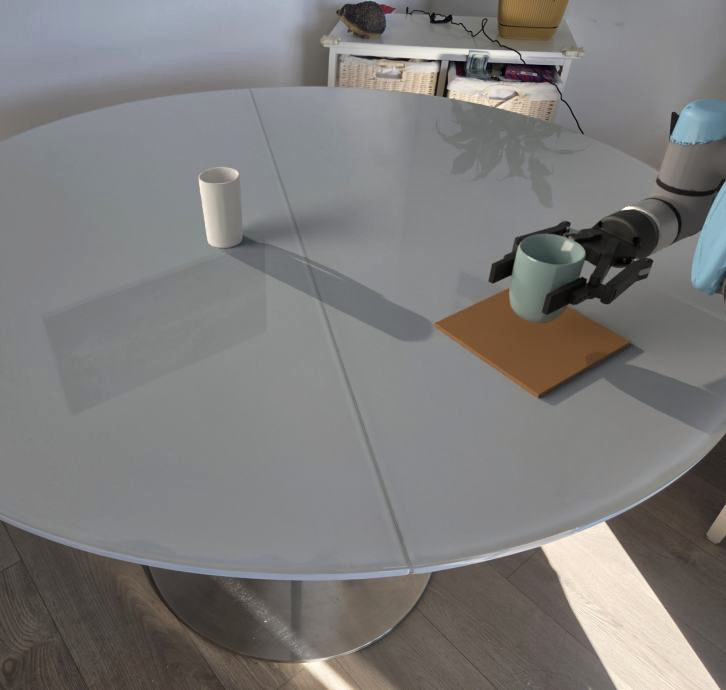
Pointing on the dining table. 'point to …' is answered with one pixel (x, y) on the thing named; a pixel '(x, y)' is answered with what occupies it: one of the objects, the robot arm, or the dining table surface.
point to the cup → (543, 274)
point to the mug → (221, 206)
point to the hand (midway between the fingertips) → (518, 288)
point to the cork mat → (531, 342)
